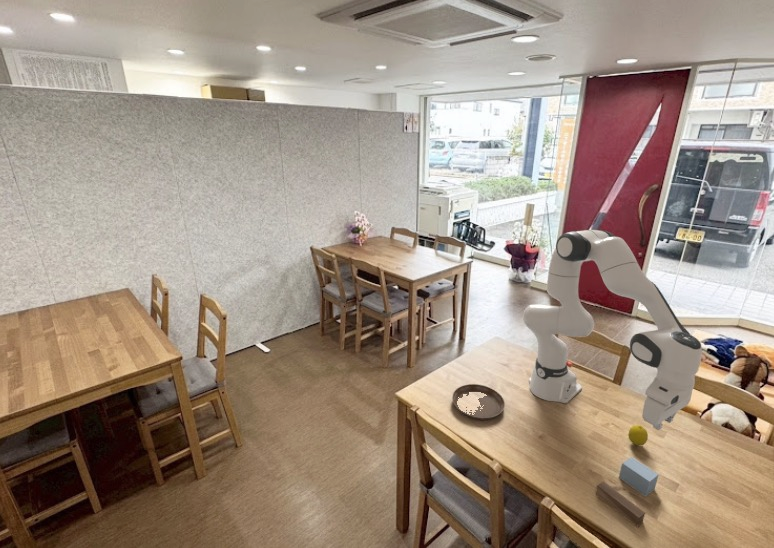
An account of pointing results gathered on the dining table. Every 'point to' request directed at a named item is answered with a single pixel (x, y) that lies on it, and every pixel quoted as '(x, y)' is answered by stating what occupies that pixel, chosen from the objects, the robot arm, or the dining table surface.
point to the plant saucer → (481, 401)
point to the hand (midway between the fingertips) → (662, 424)
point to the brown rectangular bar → (620, 503)
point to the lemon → (638, 435)
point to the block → (638, 476)
